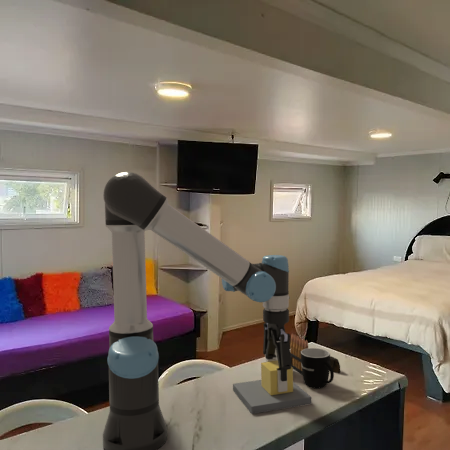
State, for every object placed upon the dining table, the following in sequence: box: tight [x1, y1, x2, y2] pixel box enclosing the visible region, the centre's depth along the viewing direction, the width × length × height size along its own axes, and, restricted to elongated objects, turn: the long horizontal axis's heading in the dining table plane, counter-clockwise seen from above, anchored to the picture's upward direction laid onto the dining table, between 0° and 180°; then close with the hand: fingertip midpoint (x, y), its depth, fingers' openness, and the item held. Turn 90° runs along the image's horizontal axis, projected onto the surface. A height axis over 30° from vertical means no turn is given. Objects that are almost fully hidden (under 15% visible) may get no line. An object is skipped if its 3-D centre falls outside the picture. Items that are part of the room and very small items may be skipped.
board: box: [232, 379, 312, 415], centre depth 126 cm, size 18×16×6 cm
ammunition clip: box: [290, 332, 309, 376], centre depth 146 cm, size 11×2×12 cm, turn 22°
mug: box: [301, 347, 335, 390], centre depth 133 cm, size 12×9×10 cm
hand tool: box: [329, 355, 341, 374], centre depth 151 cm, size 19×4×5 cm, turn 30°
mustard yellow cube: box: [260, 360, 294, 395], centre depth 127 cm, size 7×7×7 cm
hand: (276, 385), depth 127 cm, fingers open, 7 cm apart
